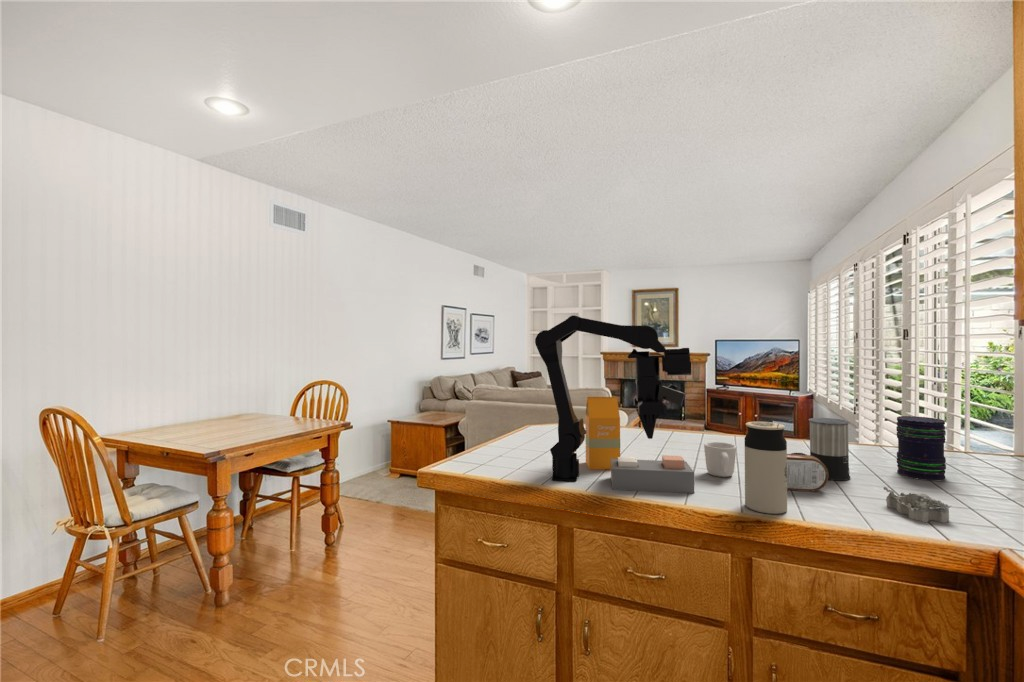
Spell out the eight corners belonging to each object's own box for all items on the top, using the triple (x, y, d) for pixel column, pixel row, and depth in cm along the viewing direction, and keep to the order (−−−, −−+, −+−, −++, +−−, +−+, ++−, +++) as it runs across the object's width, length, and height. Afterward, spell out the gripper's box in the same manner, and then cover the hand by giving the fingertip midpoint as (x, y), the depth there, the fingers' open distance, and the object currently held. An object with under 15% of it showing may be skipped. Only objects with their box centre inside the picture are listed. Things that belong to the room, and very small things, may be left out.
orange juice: (620, 469, 132) (620, 398, 132) (589, 469, 132) (588, 398, 132) (615, 462, 140) (614, 395, 140) (585, 462, 140) (584, 395, 140)
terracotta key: (664, 476, 115) (664, 459, 115) (662, 471, 119) (662, 455, 119) (684, 477, 114) (684, 460, 114) (681, 471, 118) (681, 455, 118)
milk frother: (851, 483, 118) (851, 424, 118) (779, 474, 126) (779, 419, 126) (847, 470, 130) (847, 416, 130) (782, 462, 138) (781, 412, 139)
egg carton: (881, 504, 104) (880, 486, 104) (919, 506, 102) (919, 487, 102) (913, 522, 93) (912, 501, 93) (956, 524, 92) (956, 503, 92)
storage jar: (904, 478, 122) (904, 420, 122) (890, 468, 131) (890, 415, 131) (953, 482, 118) (953, 423, 118) (936, 472, 127) (935, 417, 127)
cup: (743, 483, 119) (743, 451, 119) (709, 481, 120) (709, 450, 120) (732, 471, 129) (732, 442, 129) (701, 470, 131) (701, 441, 131)
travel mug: (740, 509, 100) (740, 424, 100) (750, 499, 106) (749, 420, 106) (783, 518, 95) (782, 429, 95) (790, 507, 101) (789, 423, 101)
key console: (612, 489, 114) (611, 468, 114) (610, 477, 124) (610, 458, 124) (694, 493, 111) (694, 472, 111) (686, 480, 121) (686, 461, 121)
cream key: (618, 477, 117) (618, 461, 117) (617, 472, 121) (617, 456, 121) (637, 478, 116) (637, 462, 116) (636, 473, 120) (636, 457, 120)
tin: (825, 489, 113) (824, 454, 113) (830, 493, 110) (830, 457, 110) (756, 485, 117) (756, 451, 117) (760, 489, 114) (760, 454, 114)
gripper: (688, 378, 107) (691, 446, 107) (675, 373, 125) (677, 431, 125) (638, 379, 109) (640, 446, 109) (632, 373, 127) (634, 431, 127)
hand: (650, 438), depth 117 cm, fingers closed
